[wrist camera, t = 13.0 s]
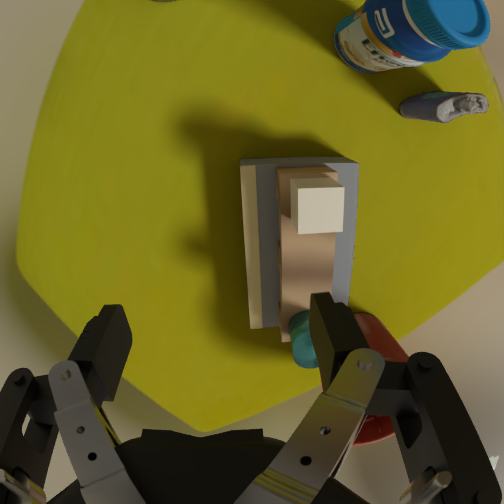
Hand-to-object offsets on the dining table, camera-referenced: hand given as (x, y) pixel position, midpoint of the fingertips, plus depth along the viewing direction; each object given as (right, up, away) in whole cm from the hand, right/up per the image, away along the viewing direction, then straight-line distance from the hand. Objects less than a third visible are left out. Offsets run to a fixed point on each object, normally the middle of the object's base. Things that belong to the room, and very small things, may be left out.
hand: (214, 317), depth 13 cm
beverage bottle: (+15, +28, +18) cm, 37 cm away
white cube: (+7, +8, +17) cm, 20 cm away
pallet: (+7, +3, +23) cm, 25 cm away
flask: (+25, +23, +21) cm, 39 cm away
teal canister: (+8, -6, +23) cm, 25 cm away
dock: (+7, +5, +28) cm, 29 cm away
